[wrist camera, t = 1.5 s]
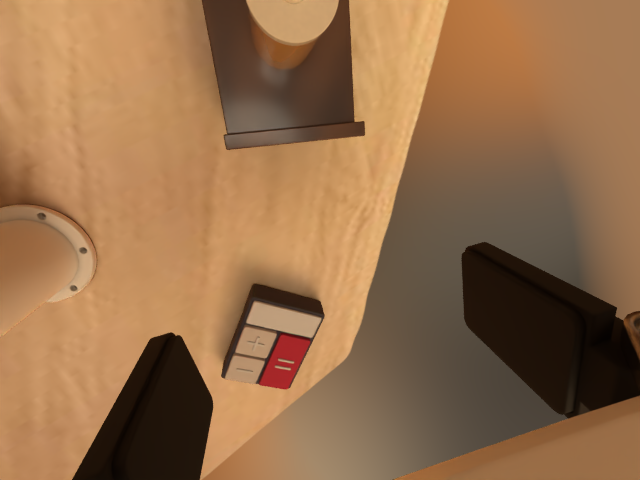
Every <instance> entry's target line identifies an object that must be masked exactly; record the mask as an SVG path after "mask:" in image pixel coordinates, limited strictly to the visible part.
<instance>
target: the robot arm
mask: <svg viewBox="0 0 640 480" xmlns="http://www.w3.org/2000/svg"><path fill="white" fill-rule="evenodd" d="M96 265H97V259H96V252H95V249H94V246H93V244H92V242H91V240H90V239H89V237H88V235H87V234H86V233H85V232H84V231H83V229H82V228H81V227H80V226H78V225H77V224H76V223H75V222H74V221H73V220H71V219H69V218H68V217H66V216H65V215H63V214H61V213H59V212H56V211H54V210H52V209H49V208H45V207H41V206H36V205H28V204H21V205H11V206H6V207H2V208H0V337H1V336H3V335H4V334H5V333H7V332H8V331H9V330H10V329H12V328H13V327H14V326H15V325H17V324H18V323H19V322H21V321H22V320H23V319H24V318H26V317H27V316H28V315H29V314H31V313H32V312H33V311H35V310H36V309H37V308H38V307H40V306H41V305H42V304H43V303H49V302H57V301H61V300H65V299H67V298H70V297H72V296H74V295H75V294H77V293H78V292H80V291H81V290H82V289H83V288H85V287H86V286H87V285H88V283H89V282H90V281H91V279H92V278H93V276H94V273H95V271H96ZM462 277H463V299H464V319H465V322H466V324H467V326H468V328H469V329H470V330H471V331H472V332H473V333H475V335H476V336H477V337H478V338H480V339H481V340H482V341H483V342H484V343H485V344H486V345H487V346H488V347H489V348H490V349H491V350H492V351H493V352H494V353H495V354H496V355H497V356H498V357H499V358H500V359H501V360H502V361H503V362H504V363H505V364H506V365H508V366H509V367H510V368H511V369H512V370H513V371H514V372H515V373H516V374H517V375H518V376H519V377H520V378H521V379H522V380H523V381H524V382H525V383H526V384H527V385H528V386H529V387H530V388H531V389H532V390H533V391H534V392H535V393H536V394H537V395H539V396H540V397H541V398H542V399H543V400H544V401H545V402H546V403H547V404H548V405H549V406H550V407H551V408H552V409H553V410H554V411H556V412H557V413H559V414H562V415H563V414H564V415H565V416H566V417H567V418H568V419H567V420H563V421H561V422H558V423H555V424H552V425H549V426H546V427H543V428H540V429H537V430H534V431H532V432H528V433H526V434H523V435H520V436H517V437H514V438H511V439H508V440H505V441H502V442H499V443H496V444H493V445H490V446H488V447H485V448H482V449H479V450H476V451H473V452H470V453H467V454H465V455H462V456H459V457H456V458H453V459H450V460H447V461H444V462H442V463H439V464H436V465H433V466H430V467H427V468H424V469H422V470H419V471H416V472H413V473H410V474H407V475H404V476H401V477H399V478H396V479H393V480H640V311H636V312H633V313H631V314H628V315H627V316H626V317H625V319H624V321H623V320H621V319H619V318H617V317H616V316H615V315H616V310H617V307H615V306H613V305H611V304H609V303H607V302H605V301H603V300H600V299H599V298H597V297H594V296H593V295H591V294H589V293H587V292H585V291H583V290H581V289H579V288H577V287H575V286H573V285H571V284H569V283H567V282H565V281H563V280H561V279H559V278H557V277H555V276H553V275H550V274H549V273H547V272H545V271H543V270H541V269H539V268H537V267H535V266H533V265H531V264H529V263H527V262H525V261H523V260H521V259H519V258H517V257H515V256H513V255H511V254H509V253H507V252H505V251H503V250H501V249H499V248H497V247H495V246H493V245H491V244H489V243H486V242H482V243H479V244H475V245H472V246H468V247H467V248H466V250H465V252H464V253H463V254H462ZM212 411H213V400H212V397H211V394H210V392H209V390H208V388H207V386H206V384H205V382H204V380H203V378H202V376H201V374H200V372H199V370H198V368H197V366H196V364H195V362H194V360H193V358H192V356H191V354H190V352H189V351H188V349H187V347H186V345H185V343H184V341H183V339H182V337H181V336H180V335H177V336H175V334H173V333H167V334H164V335H160V336H157V337H154V338H151V339H150V340H149V342H148V344H147V346H146V347H145V349H144V351H143V353H142V355H141V356H140V358H139V360H138V362H137V364H136V365H135V367H134V369H133V371H132V373H131V374H130V376H129V378H128V380H127V382H126V383H125V385H124V387H123V389H122V391H121V393H120V394H119V396H118V398H117V400H116V402H115V403H114V405H113V407H112V409H111V411H110V412H109V414H108V416H107V418H106V420H105V421H104V423H103V425H102V427H101V429H100V430H99V432H98V434H97V436H96V438H95V439H94V441H93V443H92V445H91V447H90V448H89V450H88V452H87V454H86V456H85V457H84V459H83V461H82V463H81V465H80V466H79V468H78V470H77V472H76V474H75V475H74V477H73V479H72V480H200V475H201V470H202V464H203V459H204V454H205V449H206V443H207V438H208V433H209V427H210V422H211V417H212Z"/></svg>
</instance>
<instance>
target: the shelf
mask: <svg viewBox="0 0 640 480" xmlns="http://www.w3.org/2000/svg"><path fill="white" fill-rule="evenodd" d="M202 4H203V9H204V14H205V19H206V25H207V30H208V35H209V40H210V46H211V51H212V56H213V61H214V67H215V72H216V77H217V82H218V88H219V93H220V98H221V103H222V109H223V114H224V119H225V124H226V130H227V134H225V135H224V140H225V145H226V149H227V150H231V149H241V148H250V147H260V146H270V145H279V144H289V143H299V142H309V141H318V140H328V139H338V138H347V137H357V136H364V135H365V125H364V121H361V122H354V102H353V79H352V57H351V35H350V13H349V0H339V3H338V7H337V10H336V13H335V16H334V18H333V20H332V21H331V23H330V25H329V26H328V28H327V29H326V30H325V32H324V33H323V34H322V35H321V36H320V37H319V38H318V40H317V41H316V43H315V45H314V46H313V48H312V50H311V51H310V53H309V55H308V56H307V58H306V59H305V60H304V62H302V63H301V64H300V65H299V66H297V67H295V68H293V69H288V70H281V69H276V68H274V67H271V66H270V65H268V64H267V63H265V62H264V61H263V60H262V59H261V58H260V56H259V55H258V54H257V52H256V50H255V48H254V46H253V42H252V38H251V31H250V22H249V13H248V7H247V4H246V1H245V0H202Z"/></svg>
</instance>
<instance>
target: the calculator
mask: <svg viewBox="0 0 640 480" xmlns="http://www.w3.org/2000/svg"><path fill="white" fill-rule="evenodd" d="M323 319H324V312H323V308H322V305H321V302H320V301H317V300H314V299H310V298H306V297H302V296H299V295H295V294H291V293H287V292H284V291H280V290H276V289H272V288H269V287H265V286H261V285H257V284H254V285H253V286H252V288H251V290H250V293H249V296H248V298H247V301H246V304H245V307H244V310H243V313H242V316H241V318H240V321H239V323H238V326H237V329H236V331H235V334H234V336H233V339H232V342H231V344H230V347H229V350H228V352H227V355H226V357H225V360H224V364H223V369H222V375H221V377H222V378H225V379H227V380H232V381H238V382H244V383H250V384H259V385H262V386H268V387H274V388H280V389H289V388H290V386H291V384H292V382H293V380H294V378H295V376H296V374H297V372H298V370H299V368H300V366H301V364H302V362H303V360H304V358H305V356H306V354H307V352H308V350H309V348H310V346H311V343H312V341H313V339H314V337H315V335H316V333H317V331H318V329H319V327H320V325H321V323H322V321H323Z"/></svg>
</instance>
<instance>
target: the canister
mask: <svg viewBox="0 0 640 480" xmlns="http://www.w3.org/2000/svg"><path fill="white" fill-rule="evenodd" d="M245 1H246V4H247V7H248V13H249V22H250V31H251V38H252V42H253V46H254V48H255V50H256V52H257V54H258V55H259V56H260V58H261V59H262V60H263V61H264V62H265V63H267V64H268V65H270V66H271V67H274V68H276V69H281V70H288V69H293V68H295V67H297V66H299V65H300V64H301V63H302V62H304V60H305V59H306V58H307V56H308V55H309V53H310V51H311V50H312V48H313V46H314V45H315V43H316V41H317V40H318V38H319V37H320V36H321V35H322V34H323V33H324V32H325V30H326V29H327V28H328V26H329V25H330V23H331V21H332V20H333V18H334V16H335V13H336V10H337V7H338V3H339V0H245Z"/></svg>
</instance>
